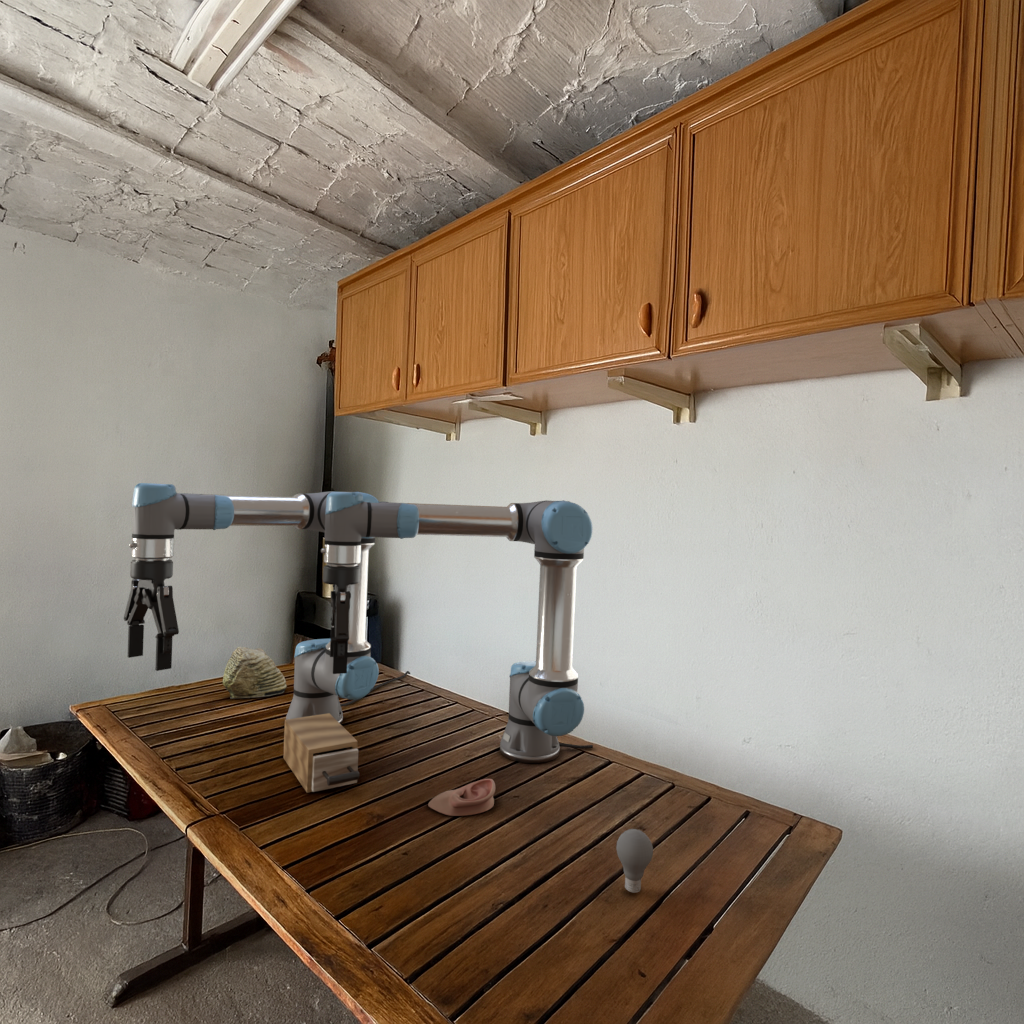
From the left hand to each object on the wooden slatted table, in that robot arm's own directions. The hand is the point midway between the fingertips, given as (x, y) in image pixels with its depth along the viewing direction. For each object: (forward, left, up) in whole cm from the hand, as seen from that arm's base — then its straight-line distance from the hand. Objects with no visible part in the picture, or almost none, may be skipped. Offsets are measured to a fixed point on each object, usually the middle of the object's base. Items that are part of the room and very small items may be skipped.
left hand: (148, 662), depth 129 cm
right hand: (-27, +26, 0) cm, 38 cm away
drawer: (-30, +19, -27) cm, 45 cm away
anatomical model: (-43, +49, -28) cm, 71 cm away
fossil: (-50, -47, -28) cm, 74 cm away
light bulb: (-41, +90, -28) cm, 103 cm away
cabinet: (-32, +13, -28) cm, 45 cm away
